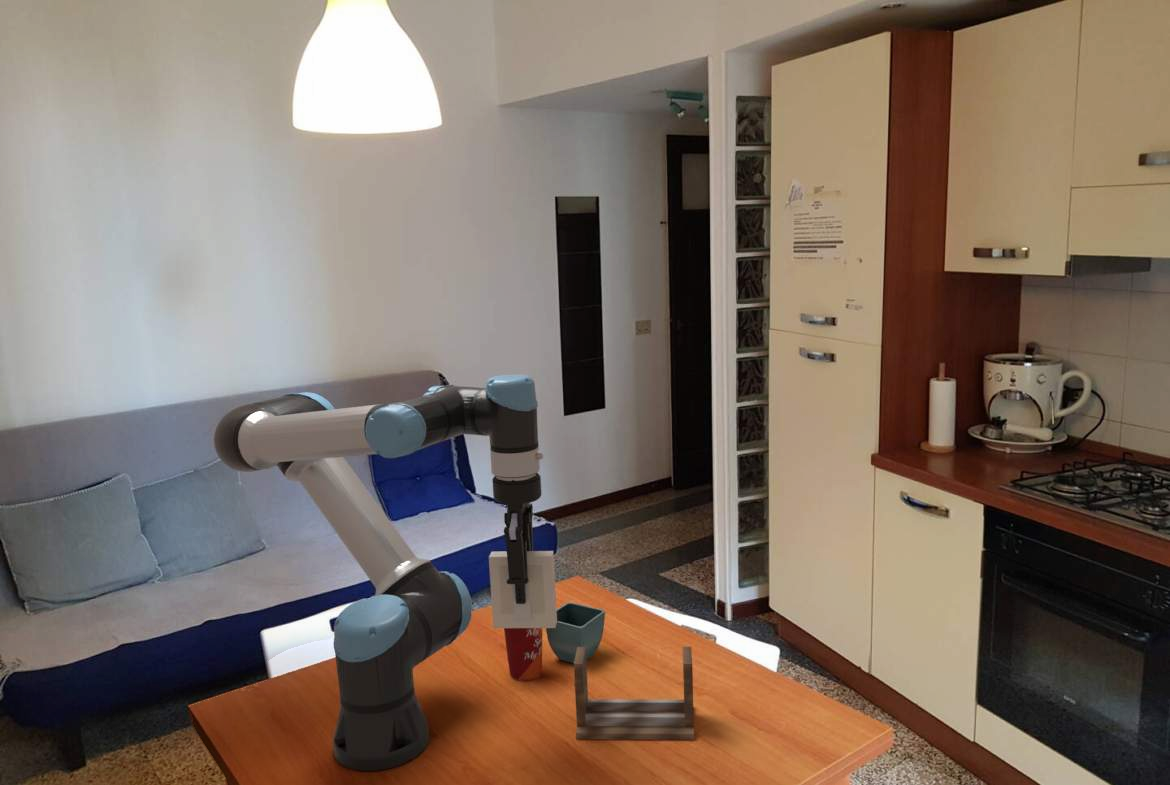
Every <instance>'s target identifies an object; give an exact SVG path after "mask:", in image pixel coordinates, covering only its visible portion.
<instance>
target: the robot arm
mask: <svg viewBox="0 0 1170 785" xmlns="http://www.w3.org/2000/svg"><path fill="white" fill-rule="evenodd" d="M538 430H539V429H538V401H537V394H536V384H535V380H534V379H533V378H532V377H530V376H528V375H527V374H501V375H500V374H499V375H495V376H492V377H490V378H488V379H487V381H486V387H473V386H472V387H471V386H462V385H461V386H460V385H459V386H458V385H454V384H446V385H433V386H431V387H429V388H428V389H427V391H426V392H425V393H424V394H423V395H421V396H418V397H416V398H411V399H408V400H402V401H397V402H395V401H394V402H386V403H380V404H371V405H362V406H353V407H344V408H337V409H336V408H335V407H334V405H332V403H331V402H329V400H328V399H326V398H325V397H323V396H321V395H319V394H317V393H313V392H307V391H305V392H300V393H299V392H293V393H291V392H290V393H286V394H284V395H283V396H280V397H276V398H275V397H274V398H272V399H267V400H263V401H258V402H253V403H247V404H244V405H240V406H238V407H235V408H234V409H232V410H230V411H229V412H227V413H226V414H225V415H224V416H223V417H222V418H221V419H220V421H219V422H218V424H217V426H216V428H215V431H214V436H213V446H214V449H215V452H216V454H217V456H218V458H219V459H220V460H221V462H223V463H224V464H225V465H226V466H227V467H228V468H231V469H232V470H235V471H237V472H244V473H247V472H248V473H250V472H252V473H253V472H257V471H262V470H269V469H272V468H274V467H278V469H279V471H281V473H282V474H283V476H284V477H285V478H286V480H288V481H293V482H299V483H300V485H302V487H303V488H304V489H305V491H306V493H307V494H308V496H309V497H310V498H311V499H312V500H313V502H314V504H315V505H316V507H317V508H318V510H319V511H320V513H322V515H323V517H324V518H325V519H326V521H327V522H328V523H329V525H330V526H331V528H332V529H333V530H334V532H335V533H336V534H337V536H338V537H339V538H340V540H341V541H342V543H343V544H344V545H345V547H346V548H347V549H348V551H349V553H350V554H351V555H352V557H353V558H354V559H355V562H357V564H358V565H359V567H360V568H361V569H362V571H363V572H364V574H365V575H366V576H367V578H368V579H369V580H370V582H371V583H372V584H373V586H374V587H375V593H374V594H375V595H372V596H370V597H369V598H366V597H364V598H361V599H358V600H357V601H355V602H352V603H350V604H349V605H348V606H346V607H345V608H343V610H342V611H341V612H340V613H339V614H338V615H337V617H336V619H335V621H334V626H333V635H334V638H333V650H334V653H335V662H336V664H335V665H336V670H337V672H336V674H337V681H338V689H339V691H338V692H339V699H340V701H339V702H340V709H339V713H338V718H337V721H336V725H335V730H334V733H333V736H332V737H333V740H332V743H333V746H332V747H333V754H334V758H335V759H336V762H338V763H339V764H340V765H342V766H343V767H345V768H348V769H351V770H354V771H361V772H362V771H363V772H374V771H383V770H387V769H392V768H395V767H398V766H400V765H401V766H402V765H404V764H405V763H408V762H410V761H411V760H413V759H415V758H417V757H418V756H419V755H420V754H422V753H423V751H424V750H425V749H426V747H427V746H428V743H429V740H430V732H429V731H430V730H429V724H428V720H427V717H426V715H425V713H424V711H423V709H422V707H421V704H420V702H419V700H418V698H417V696H416V693H415V685H414V684H415V683H414V672H413V671H414V669H415V667H416V666H418V665H420V664H421V663H422V662H424V661H426V660H427V659H428V658H429V657H432V656H433V655H434V654H435V653H438V651H440V650H441V649H443V648H444V647H447V646H449V645H451V644H452V643H453V642H454V641H456V640H457V638H459V636H461V635H462V634H463V633H465V631H466V630H467V628H468V627H469V625H470V622H471V620H472V619H471V618H472V608H473V604H472V598H471V595H470V592H469V589H468V587H467V586H466V584H465V583H464V581H463V579H461V578H460V577H459V576H458V575H457V574H455V573H453V572H449V571H445V570H444V571H443V570H442V571H438V569H437V568H436V567H435V566H434V564H433V563H432V562H431V560H429V559H424V558H418V557H417V556H416V554H415V553H414V552H413V550H412V549H411V548H410V546H409V545H408V543H407V542H406V541H405V539H404V537H402V535H401V534H400V533H399V531H398V530H397V529H396V528H395V526H394V524H393V523H392V522H391V520H390V519H389V518H388V517H387V515H386V513H385V512H384V511H383V509H382V508H381V506H379V504H378V503H377V501H376V500H375V499H374V497H373V495H372V494H371V493H370V492H369V490H368V489H367V488H366V487H365V485H364V484H363V482H362V481H361V480H360V478H359V477H358V476H357V474H356V473H355V471H354V470H353V468H351V466H350V465H349V463H348V462H347V460H346V459H345V457H357V456H369V455H379V456H381V457H382V458H385V459H395V458H399V457H400V458H401V457H405V456H409V455H412V454H413V453H415V452H417V451H419V450H422V449H424V448H427V447H429V446H433V445H435V444H438V443H441V442H444V441H447V440H450V439H453V438H455V437H458V436H461V435H470V436H471V435H472V436H473V435H474V436H481V437H482V436H484V437H488V436H489V446H490V450H489V451H490V469H491V474H492V475H493V478H492V480H491V481H492V493H493V499H494V500H495V502H497V503H499V504H503V505H506V506H507V509H506V512H504V514H503V517H504V518H503V520H504V524H505V527H504V529H503V534H504V539H505V540H504V541H505V547H506V551H507V561H508V573H509V579H508V580H507V584H512V593H513V610H514V621H531V620H532V615H531V598H530V581H528V571H527V551H534V537H533V535H534V531H533V516H534V514H533V513H534V512H533V511H534V510H533V508H534V506H533V503H534V502H536V501H538V500H539V499H540V498H541V497H542V482H541V481H542V479H541V474H539V472H540V470H541V469H540V460H542V459H543V458H544V455H543V453H542V452H539V450H540V447H539V446H540V445H539V435H538V433H539V431H538Z"/></svg>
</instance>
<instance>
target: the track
mask: <svg viewBox="0 0 1170 785" xmlns="http://www.w3.org/2000/svg"><path fill="white" fill-rule="evenodd" d="M587 667H588V666H587V660H586V647H577V651H576V656H575V661H574V663H573V675H574V694H575V696H574V697H575V710H576V711H575V712H576V713H575V714H576V731H575V739H576V740H646V741H647V740H658V741H659V740H664V741H665V740H667V741H670V740H671V741H674V740H675V741H677V740H680V741H683V740H684V741H695V719H694V713H695V712H694V682H693V681H694V678H693V654H692V646H682V670H683V672H682V673H683V699H652V698H650V699H649V698H648V699H645V698H644V699H639V698H638V699H637V698H636V699H635V698H634V699H625V698H624V699H623V698H621V699H620V698H618V699H617V698H616V699H613V698H612V699H611V698H610V699H605V698H604V699H603V698H601V699H599V698H597V699H596V698H589V692H588V691H589V690H588V689H589V686H588V672H587V670H588V669H587Z"/></svg>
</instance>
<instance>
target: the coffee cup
mask: <svg viewBox="0 0 1170 785" xmlns="http://www.w3.org/2000/svg"><path fill="white" fill-rule="evenodd" d="M503 631H504V639H505V646H506V647H505V648H506V655H507V661H508V662H507V663H508V670H509V674H510V677H511V678H512V679H514V680H516V681H520V682H521V681H522V682H523V681H526V682H527V681H532V680H535V679H537V678H539V677H540V676H541V675H542V671H543V628H503Z"/></svg>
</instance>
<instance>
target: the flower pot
mask: <svg viewBox="0 0 1170 785" xmlns="http://www.w3.org/2000/svg"><path fill="white" fill-rule="evenodd" d="M556 610H557V624H556V627H555V628H545V633H546V638H547V641H548V644H549V647H550V648H551V650H552V652H553V654H554V655H555V656H556V657H557V658H558V659H559V660H561V661H564V662H568V663H571V664H574V661H575V656H576V651H577V647H586V661H587V660H589V659H590V658H591V657H594V655H595V653H596V651H598V650H597V649H598V648H599V646H600V644H601V641H602V638H603V635H604V628H605V618H606V610H605V609H601V608H596V607H593V606H588V605H584V604H580V603H576V602H571V601H570V602H569V601H568V602H566V603H564V604H563V605H561V606H560V607H558V608H556Z"/></svg>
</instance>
